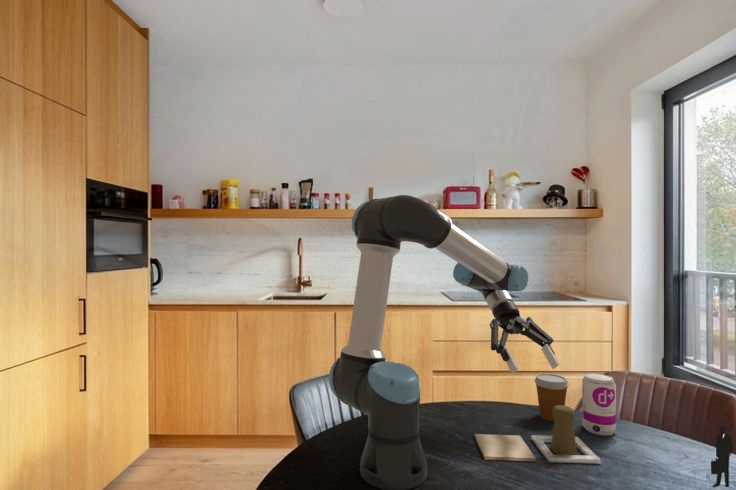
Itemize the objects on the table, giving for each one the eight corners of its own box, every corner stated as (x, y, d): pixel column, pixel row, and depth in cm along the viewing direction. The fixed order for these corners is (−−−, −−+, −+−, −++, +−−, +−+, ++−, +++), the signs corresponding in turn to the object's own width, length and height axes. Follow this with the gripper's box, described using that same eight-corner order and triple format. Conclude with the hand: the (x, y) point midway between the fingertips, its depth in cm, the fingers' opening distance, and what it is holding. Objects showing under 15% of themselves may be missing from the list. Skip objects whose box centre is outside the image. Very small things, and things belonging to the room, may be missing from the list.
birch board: (484, 459, 97) (484, 456, 97) (474, 437, 109) (474, 434, 109) (535, 461, 97) (535, 458, 97) (519, 438, 109) (520, 435, 109)
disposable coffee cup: (528, 412, 127) (528, 373, 127) (555, 410, 128) (555, 372, 129) (546, 425, 117) (546, 383, 118) (576, 422, 119) (576, 381, 119)
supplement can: (620, 438, 109) (620, 382, 110) (587, 435, 111) (587, 380, 111) (609, 425, 117) (609, 373, 118) (578, 422, 119) (578, 371, 119)
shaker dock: (548, 462, 97) (548, 457, 97) (531, 438, 109) (531, 435, 109) (600, 463, 96) (600, 459, 96) (577, 440, 108) (577, 436, 108)
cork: (546, 449, 103) (546, 406, 103) (557, 442, 106) (557, 400, 107) (570, 459, 98) (570, 413, 98) (581, 451, 102) (581, 407, 102)
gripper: (530, 312, 134) (565, 371, 119) (463, 316, 126) (491, 379, 112) (541, 298, 129) (579, 357, 114) (472, 301, 121) (502, 365, 107)
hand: (535, 368), depth 113 cm, fingers open, 13 cm apart
